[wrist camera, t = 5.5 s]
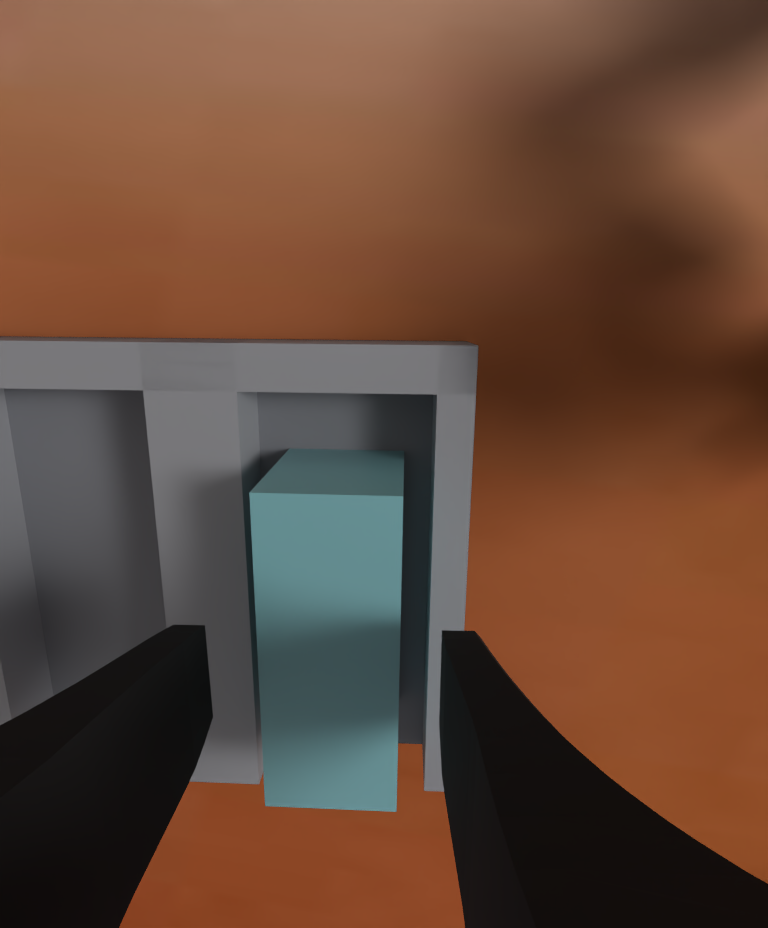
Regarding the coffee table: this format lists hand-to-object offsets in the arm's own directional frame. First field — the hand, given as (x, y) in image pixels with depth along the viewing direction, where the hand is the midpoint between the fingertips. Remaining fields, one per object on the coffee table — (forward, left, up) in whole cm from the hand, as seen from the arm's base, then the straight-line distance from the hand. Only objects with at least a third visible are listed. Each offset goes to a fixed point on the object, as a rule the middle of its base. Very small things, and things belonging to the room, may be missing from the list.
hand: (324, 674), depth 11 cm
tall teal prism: (0, 0, -4) cm, 4 cm away
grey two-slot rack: (+1, +3, -5) cm, 6 cm away
